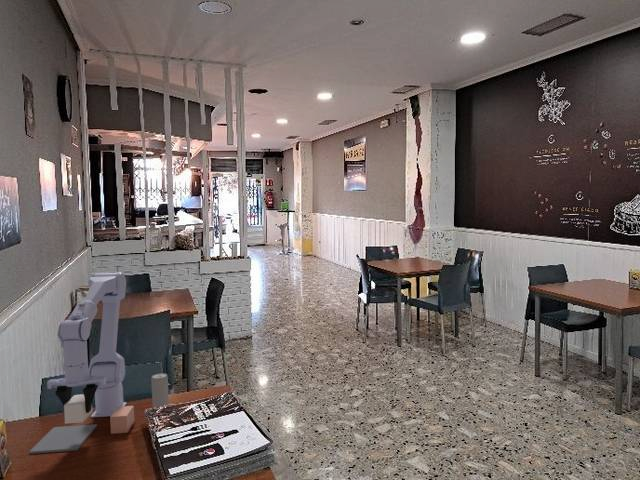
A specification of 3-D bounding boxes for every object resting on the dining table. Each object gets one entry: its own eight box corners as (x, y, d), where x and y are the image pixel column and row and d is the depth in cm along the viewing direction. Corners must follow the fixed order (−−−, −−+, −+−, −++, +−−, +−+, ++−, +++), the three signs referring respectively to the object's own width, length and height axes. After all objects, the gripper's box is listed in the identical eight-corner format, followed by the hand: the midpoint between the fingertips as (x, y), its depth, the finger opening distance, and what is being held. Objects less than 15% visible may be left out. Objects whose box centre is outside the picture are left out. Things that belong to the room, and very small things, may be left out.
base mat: (53, 429, 135) (53, 427, 135) (96, 426, 136) (96, 424, 136) (29, 453, 121) (29, 451, 121) (77, 450, 122) (77, 448, 122)
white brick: (75, 412, 130) (74, 394, 129) (92, 411, 130) (91, 393, 130) (65, 423, 123) (63, 405, 123) (82, 422, 123) (81, 404, 123)
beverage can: (163, 417, 141) (162, 379, 140) (149, 416, 142) (148, 378, 141) (172, 410, 146) (170, 373, 145) (158, 409, 147) (156, 372, 146)
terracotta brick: (118, 423, 138) (118, 406, 138) (134, 421, 139) (133, 405, 139) (111, 434, 131) (110, 416, 131) (127, 432, 132) (126, 415, 132)
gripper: (40, 369, 121) (43, 420, 122) (98, 366, 123) (101, 416, 123) (52, 361, 128) (55, 409, 129) (107, 358, 130) (110, 405, 130)
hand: (78, 411), depth 127 cm, fingers closed on white brick, 4 cm apart
